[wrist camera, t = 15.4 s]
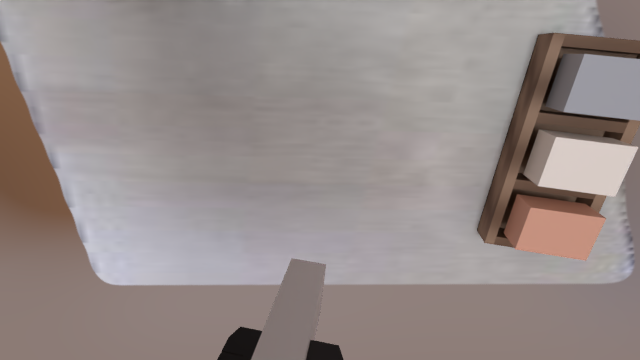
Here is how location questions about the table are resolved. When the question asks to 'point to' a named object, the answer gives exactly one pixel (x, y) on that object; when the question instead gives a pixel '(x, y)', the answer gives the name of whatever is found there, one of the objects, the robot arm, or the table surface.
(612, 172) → the cream key
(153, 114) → the table surface
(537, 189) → the wooden compartment tray
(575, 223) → the terracotta key
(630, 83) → the slate key
